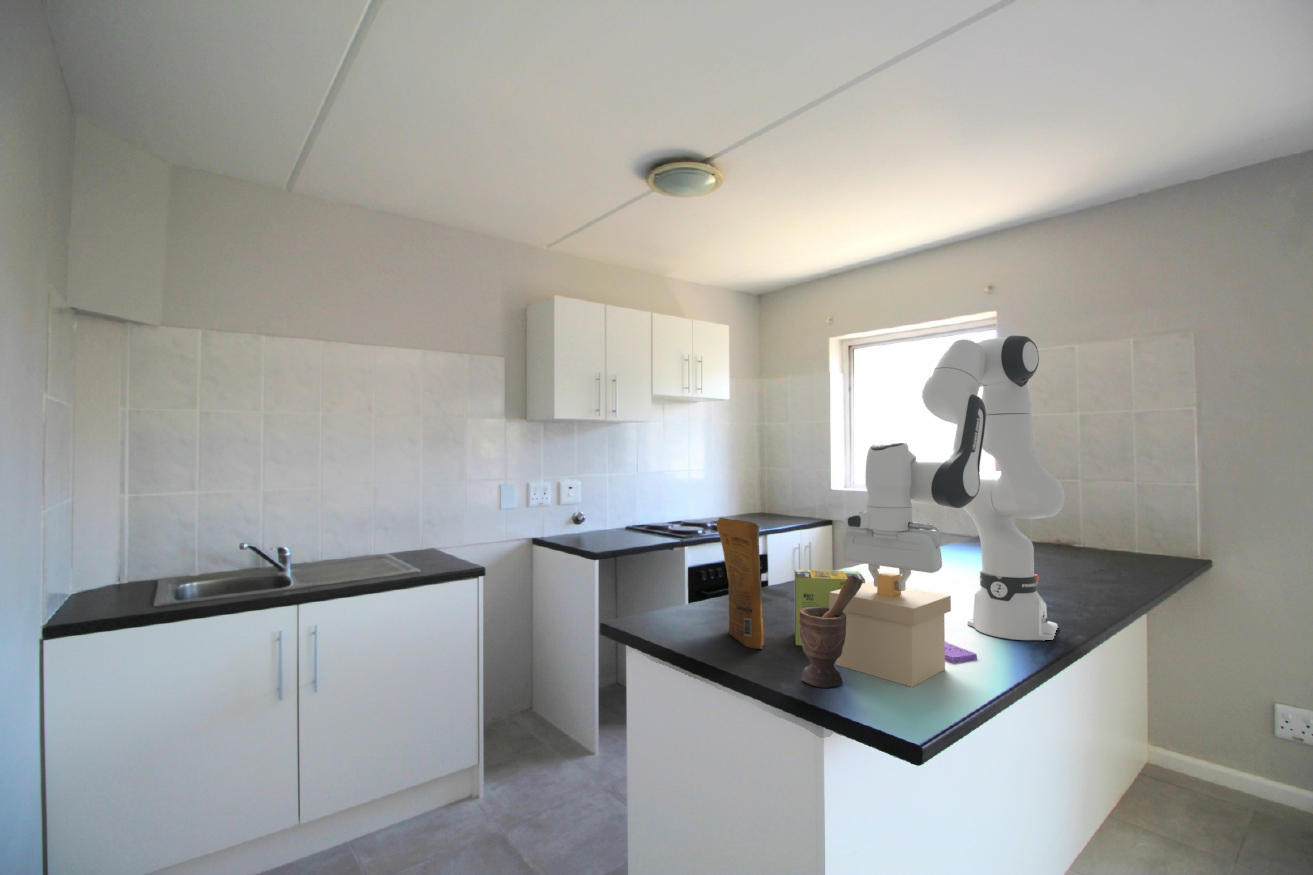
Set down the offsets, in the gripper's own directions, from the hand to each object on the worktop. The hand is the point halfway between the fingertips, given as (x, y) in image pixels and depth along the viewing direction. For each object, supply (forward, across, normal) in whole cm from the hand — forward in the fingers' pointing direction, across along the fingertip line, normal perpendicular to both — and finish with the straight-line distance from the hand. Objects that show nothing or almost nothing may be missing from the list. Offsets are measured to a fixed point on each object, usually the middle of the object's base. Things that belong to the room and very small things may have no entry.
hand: (889, 588), depth 125 cm
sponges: (+17, -3, -18) cm, 24 cm away
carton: (+16, 0, 0) cm, 16 cm away
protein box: (+16, +18, -6) cm, 25 cm away
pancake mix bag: (+16, +32, +8) cm, 37 cm away
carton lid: (+4, 0, 0) cm, 4 cm away
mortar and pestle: (+16, +4, +16) cm, 23 cm away
